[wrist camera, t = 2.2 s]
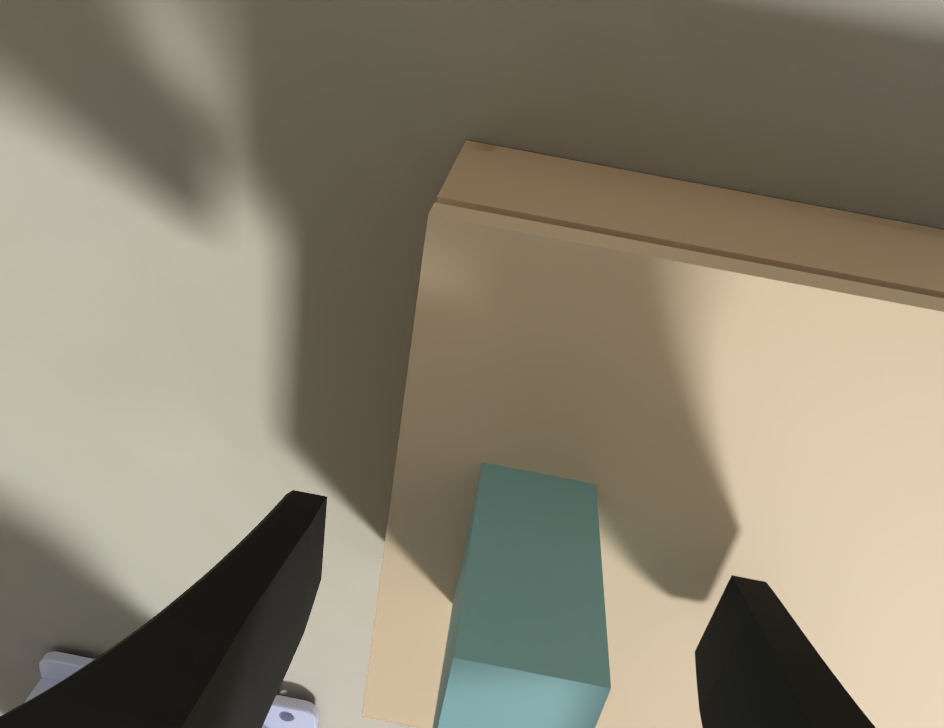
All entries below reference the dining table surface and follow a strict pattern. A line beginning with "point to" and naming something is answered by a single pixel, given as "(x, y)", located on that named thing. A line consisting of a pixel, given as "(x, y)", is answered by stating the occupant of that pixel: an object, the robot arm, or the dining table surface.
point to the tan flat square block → (652, 480)
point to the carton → (697, 217)
